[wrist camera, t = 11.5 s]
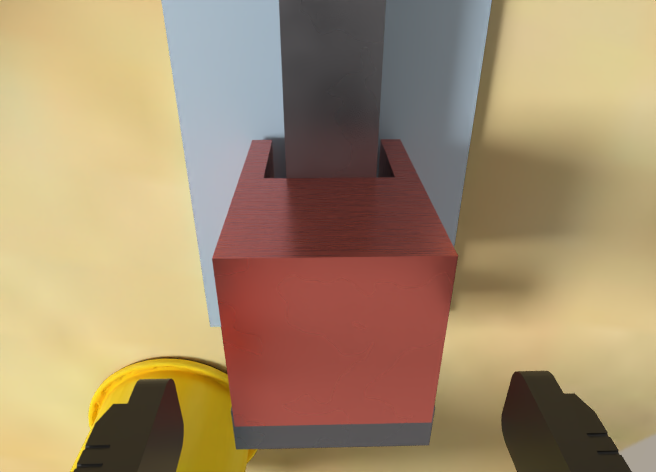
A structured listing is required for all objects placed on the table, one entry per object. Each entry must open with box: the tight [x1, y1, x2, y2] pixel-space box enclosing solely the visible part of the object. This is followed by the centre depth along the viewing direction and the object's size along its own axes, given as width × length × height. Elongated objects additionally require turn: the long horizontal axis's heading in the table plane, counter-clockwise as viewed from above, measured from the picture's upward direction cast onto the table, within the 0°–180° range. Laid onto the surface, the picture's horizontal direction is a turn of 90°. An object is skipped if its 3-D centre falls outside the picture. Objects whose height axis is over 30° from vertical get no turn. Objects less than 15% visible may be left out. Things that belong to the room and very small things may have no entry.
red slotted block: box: [212, 139, 458, 427], centre depth 17 cm, size 6×6×9 cm
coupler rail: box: [231, 0, 435, 449], centre depth 16 cm, size 20×7×8 cm, turn 0°
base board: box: [161, 0, 492, 327], centre depth 20 cm, size 22×12×1 cm, turn 0°
